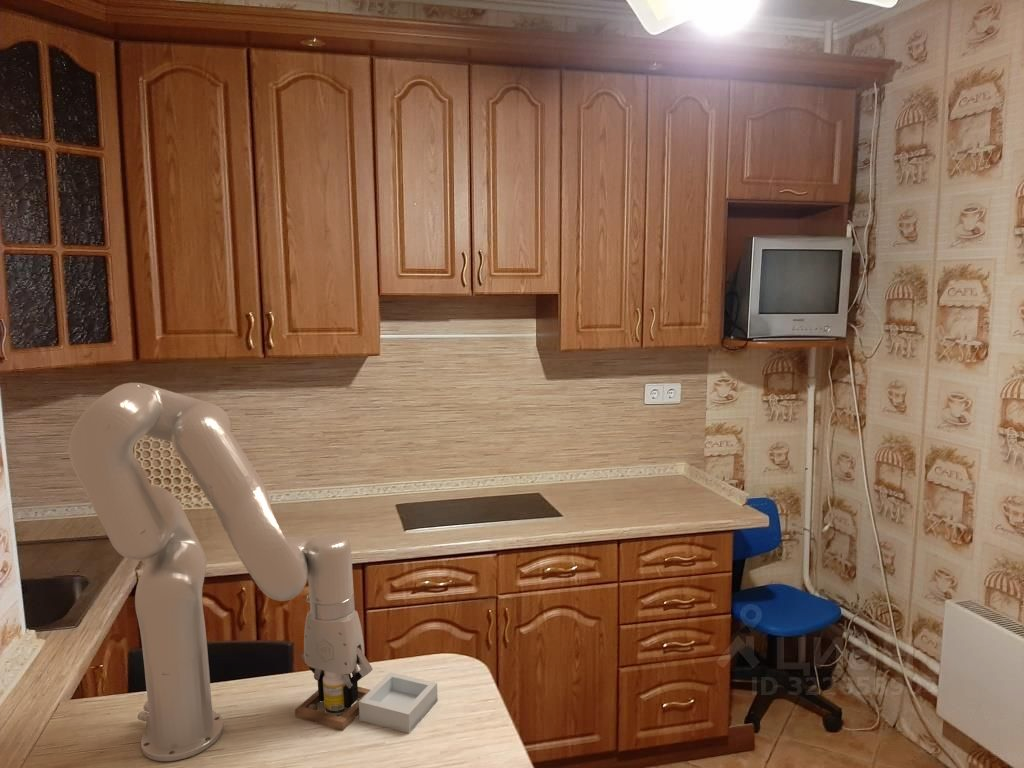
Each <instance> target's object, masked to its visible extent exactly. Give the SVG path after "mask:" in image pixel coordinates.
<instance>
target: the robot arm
mask: <svg viewBox="0 0 1024 768" xmlns="http://www.w3.org/2000/svg"><path fill="white" fill-rule="evenodd" d="M231 427H232V425H231V420H230V418H229V416H228V414H227V412H226V411H225V410H224V409H223V408H222V407H220V406H218V405H217V404H214V403H212V402H209V401H205V400H202V399H198V398H196V397H195V398H194V397H192V396H189V395H185V394H182V393H178V392H175V391H170V390H167V389H164V388H160V387H157V386H154V385H151V384H146V383H141V382H128V383H127V382H126V383H123V384H120V385H117V386H115V387H114V388H113V389H111V390H109V391H108V392H105V393H104V394H103V395H101V396H100V397H99V398H98V399H96V400H95V401H94V402H93V403H92V404H91V405H90V406H88V407H87V408H86V410H85V411H84V412H83V413H82V414H81V415H80V416H79V418H78V419H77V421H76V422H75V424H74V426H73V427H72V430H71V432H70V436H69V441H68V456H69V459H70V463H71V466H72V469H73V470H74V473H75V475H76V476H77V478H78V481H79V483H80V484H81V486H82V487H83V488H82V489H83V490H84V492H85V494H86V496H87V497H88V500H89V501H90V504H91V506H92V508H93V510H94V512H95V514H96V515H97V518H98V520H99V521H100V523H101V525H102V527H103V529H104V531H105V533H106V535H107V537H108V539H109V541H110V543H111V545H112V547H113V548H114V550H116V552H117V553H118V554H119V555H120V556H122V557H124V558H125V559H128V560H131V561H141V562H142V564H143V565H144V567H143V570H142V573H141V575H140V577H139V579H138V582H137V584H136V589H135V595H134V607H135V612H136V613H135V614H136V617H137V621H138V627H139V633H140V639H141V649H142V657H143V665H144V666H143V667H144V678H145V687H146V688H145V689H146V698H147V699H146V700H147V701H146V702H144V705H143V710H142V711H139V713H138V714H137V719H138V720H140V721H142V722H146V731H145V732H144V733H143V735H142V737H141V740H140V747H141V749H140V750H141V752H142V753H143V755H144V756H145V757H146V758H148V759H150V760H153V761H157V762H158V761H159V762H173V761H179V760H184V759H187V758H189V757H190V758H191V757H193V756H196V755H197V754H200V753H201V752H203V751H206V750H207V749H208V748H210V747H211V746H213V744H215V743H216V742H217V741H218V740H219V738H220V737H221V735H222V733H223V731H224V720H223V717H222V716H221V714H219V713H218V712H216V711H214V710H213V705H212V704H213V703H212V691H211V677H210V665H209V654H208V643H207V632H206V630H207V629H206V623H205V622H206V620H205V615H204V608H203V607H204V606H203V585H204V582H205V575H206V571H207V559H206V554H205V550H204V549H203V547H202V544H201V543H200V540H199V538H198V537H197V535H196V532H195V530H194V529H193V527H192V524H191V523H190V520H189V519H188V517H187V515H186V513H185V510H184V508H183V506H182V505H181V503H180V502H179V500H178V499H177V497H176V495H174V494H173V493H172V492H171V491H169V490H168V489H166V488H164V487H161V486H157V485H152V483H150V480H149V478H148V476H147V474H146V471H145V469H144V468H143V466H142V464H141V463H140V462H139V459H137V457H136V456H135V453H134V447H135V444H136V443H137V442H138V441H140V439H142V438H144V436H147V437H150V438H153V439H156V440H157V439H158V440H161V441H165V442H168V443H169V442H170V443H171V444H172V446H173V448H174V450H175V452H176V454H177V455H178V457H179V458H180V460H181V462H182V463H183V465H184V466H185V467H186V469H187V470H188V472H189V474H190V475H191V477H192V478H193V479H194V481H195V482H196V484H197V485H198V487H199V488H200V490H201V492H202V493H203V494H204V496H205V497H206V499H207V500H208V502H209V504H211V505H210V506H211V507H212V508H213V510H214V511H215V513H216V515H217V518H218V520H219V522H220V524H221V526H222V528H223V530H224V531H225V533H226V535H227V537H228V539H229V541H230V542H231V545H232V547H233V549H234V551H235V553H236V555H238V558H239V559H240V561H241V563H242V564H243V566H244V568H245V569H246V571H247V572H248V574H249V575H250V577H251V578H252V579H253V581H254V583H255V584H256V586H257V587H258V589H259V590H260V591H261V592H262V593H263V594H264V595H265V596H267V597H268V598H270V599H272V600H275V601H281V602H283V601H289V600H293V599H294V598H296V597H297V596H299V595H300V594H301V593H302V592H303V591H304V588H305V587H306V584H307V581H308V591H309V592H308V593H309V594H307V595H306V598H305V601H306V602H307V603H309V607H310V608H309V609H310V610H308V611H307V613H306V617H305V623H304V624H305V625H304V631H303V632H304V634H303V637H304V638H303V652H302V653H301V655H300V657H301V659H302V661H304V663H305V664H306V665H307V666H308V668H309V670H311V672H312V673H313V679H314V680H315V681H317V690H318V693H319V701H321V702H320V703H324V691H323V677H324V675H325V674H324V671H328V672H332V673H336V674H341V675H343V677H344V680H345V684H346V686H345V687H344V688H343V693H344V707H345V708H349V707H350V706H351V705H352V706H353V705H354V704H355V703H356V702H357V701H358V700H359V699H358V687H359V686H358V683H359V681H360V680H361V679H363V678H364V677H366V676H367V675H369V674H370V673H371V672H372V671H373V667H372V665H371V664H370V662H369V661H368V659H367V657H366V656H365V643H364V635H363V630H362V624H361V621H360V617H359V613H358V611H357V610H355V593H354V578H353V577H354V576H353V560H352V544H351V541H350V539H349V538H348V537H347V536H345V535H343V534H341V533H340V534H339V533H325V534H320V535H317V536H285V535H284V533H283V531H282V529H281V527H280V526H279V524H278V523H279V522H278V521H277V518H276V517H275V514H274V511H273V508H272V506H271V502H270V498H269V493H268V491H267V488H266V486H265V483H264V482H263V480H262V479H261V477H260V474H258V473H257V471H256V469H255V468H254V466H253V465H252V463H251V461H250V460H249V458H248V456H247V455H246V454H245V452H244V450H243V449H242V447H241V445H240V444H239V442H238V441H237V439H236V438H235V436H234V435H233V432H232V431H231V430H232V428H231ZM352 706H351V707H352Z"/></svg>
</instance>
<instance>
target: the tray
mask: <svg viewBox="0 0 1024 768" xmlns="http://www.w3.org/2000/svg"><path fill="white" fill-rule="evenodd" d="M370 690H371V689H369V688H364V687H361V686H358V698H359V699H357V701H356V702H355V703H354V704H352V706H351V708H350V709H349V710H348V711H346V712H345V713H344V714H341V715H332V714H329V713H326V711H322V710H317V709H318V707H317V705H319V704H320V703H321V702H320V701H319V693H318V689H317V690H316V691H315V692H314V693H313V694H311V695H310V696H309V697H308V698H306V700H304V701H303V702H302V703H301V704H300V705H298V706H297V707H296V708H295V709H294V713H295V715H294V716H295V718H297V719H300V720H304V721H308V722H311V723H315V724H318V725H321V726H325V727H329V728H333V729H336V730H340V731H344V730H345V729H346V728H347V727H348V726H349V725H350V724H352V723H353V721H354V720H355V719H356V718H357V717H359V701H360V700H361V699H362V698H363V697H364V696H365V695H366V694H367V693H368V692H369V691H370ZM319 702H320V703H319ZM318 703H319V704H318Z"/></svg>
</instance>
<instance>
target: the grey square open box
mask: <svg viewBox="0 0 1024 768" xmlns="http://www.w3.org/2000/svg"><path fill="white" fill-rule="evenodd" d="M438 699H439V697H438V683H437V682H433V681H430V680H425V679H420V678H417V677H412V676H408V675H405V674H404V675H403V674H400V673H395V672H392V671H389V672H387V674H386V675H385V676H384V677H383V678H382V679H381V680H379V682H378V683H377V684H376V685H374V687H372V689H370V691H369V692H368V693H367V694H366V695H365V696H364V697H363V698H362V699H361V700H360V701H359V715H358V717H359V721H362V722H365V723H369V724H373V725H377V726H381V727H385V728H388V729H392V730H396V731H398V732H403V733H407V734H410V733H411V732H413V730H414V729H415V728H416V727H417V725H418V724H419V723H420V722H421V721H422V720H423V718H424V717H425V716H426V715H427V714H428V713H429V711H431V709H432V708H433V707H434V706H435V705H436V704H437V702H438Z"/></svg>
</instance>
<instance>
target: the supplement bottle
mask: <svg viewBox="0 0 1024 768" xmlns="http://www.w3.org/2000/svg"><path fill="white" fill-rule="evenodd" d="M324 674H325V675H324V677H323V691H324V701H323V704H324V705H323V706H324V712H325V713H329V714H332V715H336V716H342V715H343V714H344V713H345V712H346V711H348V710H349V709H350V708H351V707H352V706H353V704H352V705H351V706H350V707H349V708H345V707H344V693H343V688H344V687H345V686H346V684H345V680H344V677H343V675H341V674H336V673H332V672H328V671H324Z"/></svg>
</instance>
